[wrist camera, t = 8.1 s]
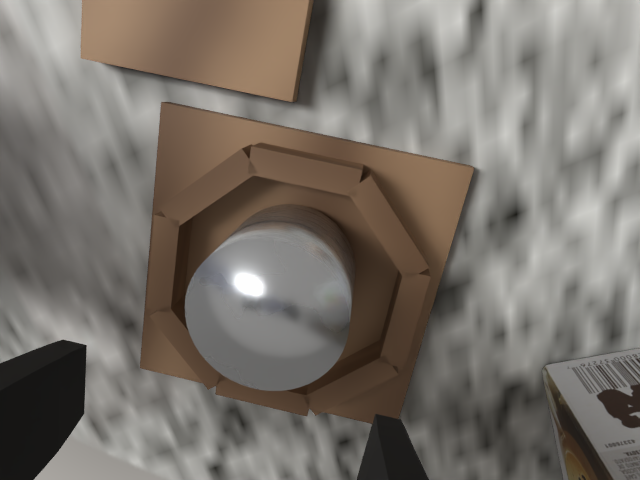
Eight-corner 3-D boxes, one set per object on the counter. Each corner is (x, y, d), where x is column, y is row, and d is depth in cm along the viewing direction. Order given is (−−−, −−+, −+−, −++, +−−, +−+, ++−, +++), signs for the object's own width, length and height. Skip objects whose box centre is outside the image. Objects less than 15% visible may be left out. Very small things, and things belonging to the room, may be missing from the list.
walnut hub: (146, 360, 22) (124, 386, 20) (168, 101, 18) (143, 102, 16) (394, 420, 22) (396, 452, 20) (471, 165, 18) (482, 174, 16)
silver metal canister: (225, 315, 20) (183, 377, 15) (230, 195, 18) (186, 227, 14) (346, 334, 19) (338, 402, 15) (363, 213, 18) (360, 252, 13)
